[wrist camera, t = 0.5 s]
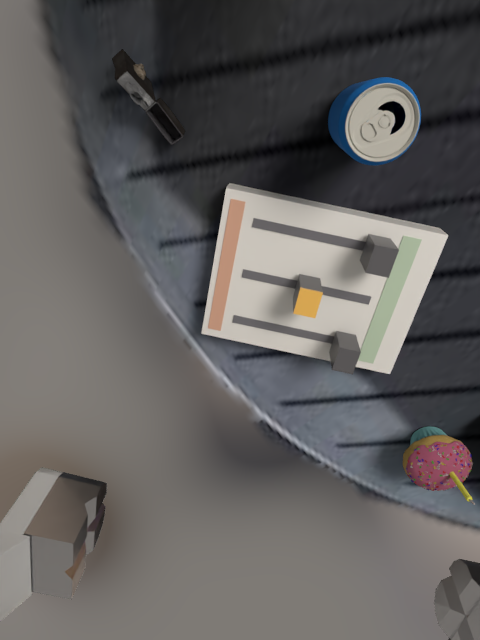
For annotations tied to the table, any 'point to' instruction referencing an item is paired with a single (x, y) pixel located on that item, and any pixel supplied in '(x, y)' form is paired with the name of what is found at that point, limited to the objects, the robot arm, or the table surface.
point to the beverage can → (375, 120)
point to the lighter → (146, 96)
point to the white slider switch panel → (317, 261)
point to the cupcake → (437, 461)
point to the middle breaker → (307, 296)
